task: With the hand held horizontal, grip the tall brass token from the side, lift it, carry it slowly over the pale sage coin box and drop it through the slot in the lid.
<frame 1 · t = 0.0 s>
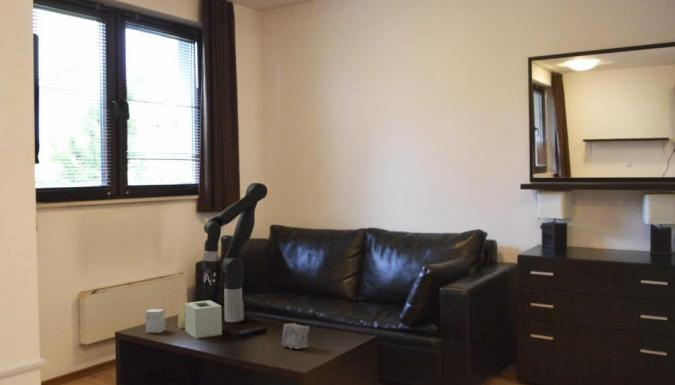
hand: (209, 290, 312), 17 cm above the table, tool pointing down, fingers open, 8 cm apart
small box: (155, 331, 299), on the table
incense holder: (295, 347, 270), on the table
brass token: (181, 327, 305), on the table
coin box: (203, 332, 295), on the table
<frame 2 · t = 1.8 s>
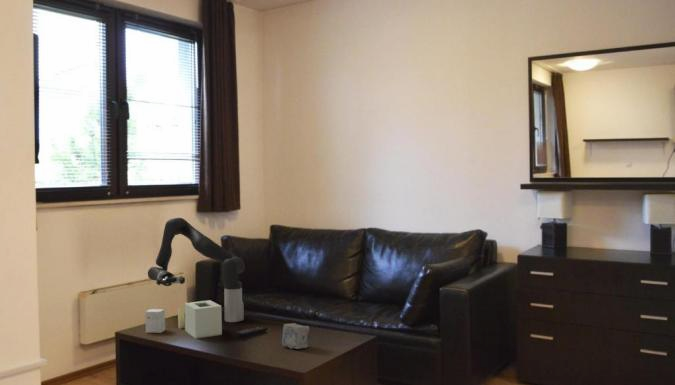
hand: (174, 282, 314), 21 cm above the table, tool horizontal, fingers open, 8 cm apart
nothing on the table moved.
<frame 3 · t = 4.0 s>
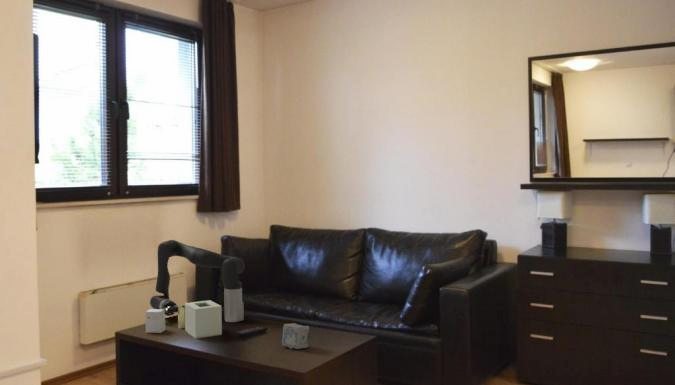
hand: (176, 312, 312), 6 cm above the table, tool horizontal, fingers open, 8 cm apart
nothing on the table moved.
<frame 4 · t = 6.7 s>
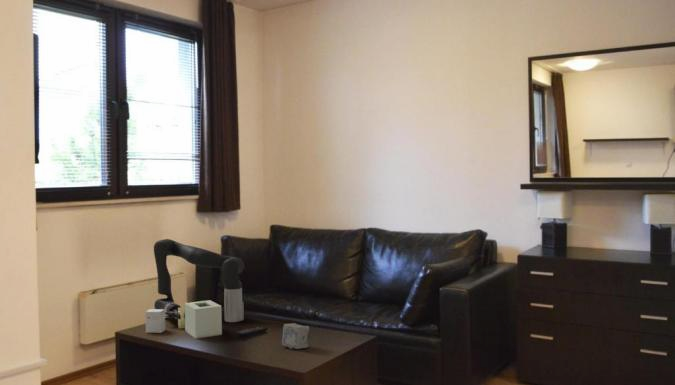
hand: (183, 316, 303), 6 cm above the table, tool horizontal, fingers closed on brass token, 2 cm apart
brass token: (181, 327, 305), on the table, touching gripper
everything else where it was.
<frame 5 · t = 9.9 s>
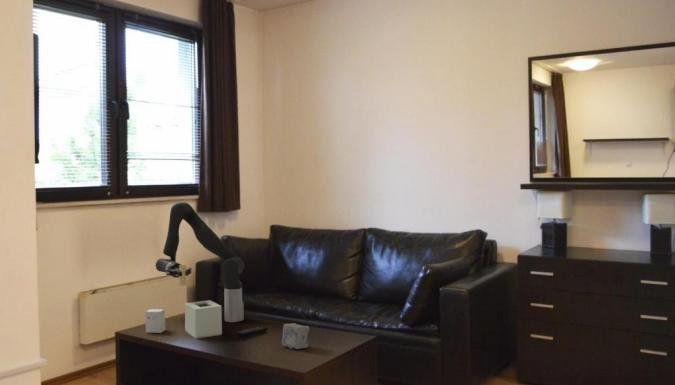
hand: (184, 273, 301), 28 cm above the table, tool horizontal, fingers closed on brass token, 2 cm apart
brass token: (182, 285, 304), point 22 cm above the table, touching gripper
everything else where it was.
when the fingers open (24 cm above the table, at t = 13.3 s): brass token drops 17 cm, resting on coin box.
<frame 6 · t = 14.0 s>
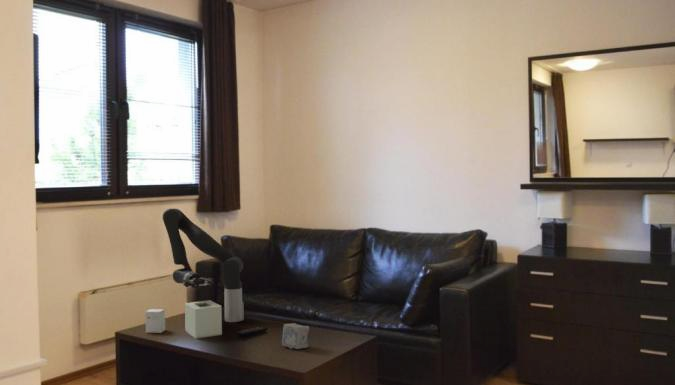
hand: (203, 284, 293), 24 cm above the table, tool horizontal, fingers open, 8 cm apart
brass token: (202, 329, 296), point 1 cm above the table, tilted 27°, touching coin box
everything else where it was.
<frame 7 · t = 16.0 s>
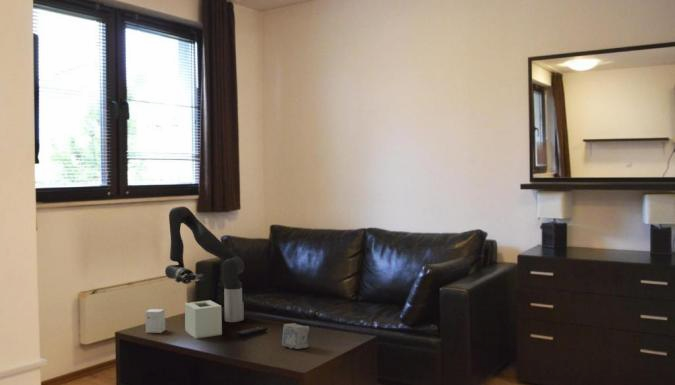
hand: (194, 280, 305), 24 cm above the table, tool horizontal, fingers open, 8 cm apart
nothing on the table moved.
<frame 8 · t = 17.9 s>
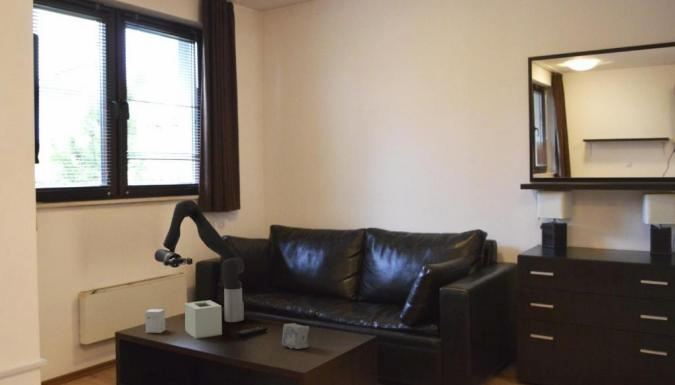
hand: (182, 263, 309), 32 cm above the table, tool horizontal, fingers open, 8 cm apart
nothing on the table moved.
at the end: brass token inside the target area on the coin box (1.6 cm from its centre), point 1.3 cm above the coin box's base; the gripper is holding nothing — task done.
